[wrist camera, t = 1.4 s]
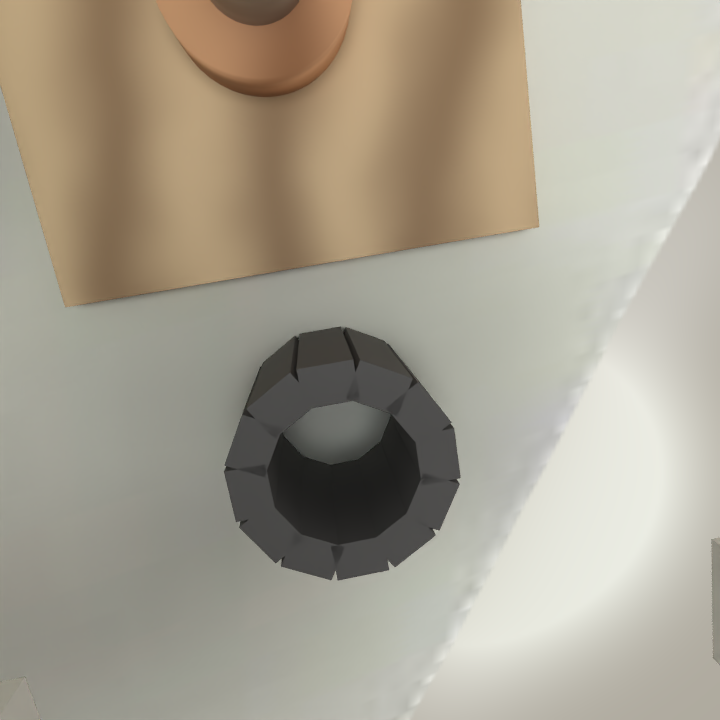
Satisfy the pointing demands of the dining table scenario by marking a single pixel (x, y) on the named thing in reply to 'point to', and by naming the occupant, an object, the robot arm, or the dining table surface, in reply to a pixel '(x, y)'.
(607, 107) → the dining table surface
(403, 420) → the rubber collar
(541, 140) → the dining table surface
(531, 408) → the dining table surface
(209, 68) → the post stand
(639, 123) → the dining table surface
